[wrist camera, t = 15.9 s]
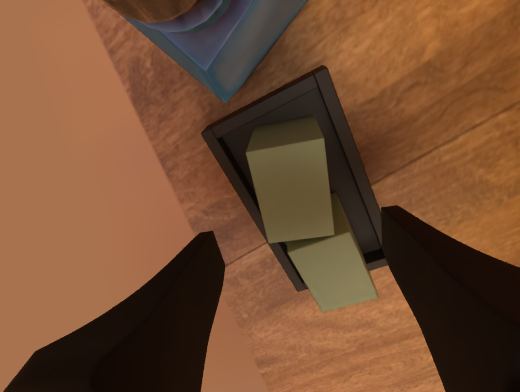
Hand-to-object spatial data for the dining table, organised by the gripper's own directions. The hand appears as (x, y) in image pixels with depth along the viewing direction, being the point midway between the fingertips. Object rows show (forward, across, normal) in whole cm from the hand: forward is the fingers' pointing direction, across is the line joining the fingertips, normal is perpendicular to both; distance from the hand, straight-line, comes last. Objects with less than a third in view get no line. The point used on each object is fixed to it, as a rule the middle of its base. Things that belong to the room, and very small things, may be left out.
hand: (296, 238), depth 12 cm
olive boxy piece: (+9, 0, 0) cm, 9 cm away
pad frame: (+9, -1, +3) cm, 10 cm away
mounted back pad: (+9, -2, +6) cm, 11 cm away
